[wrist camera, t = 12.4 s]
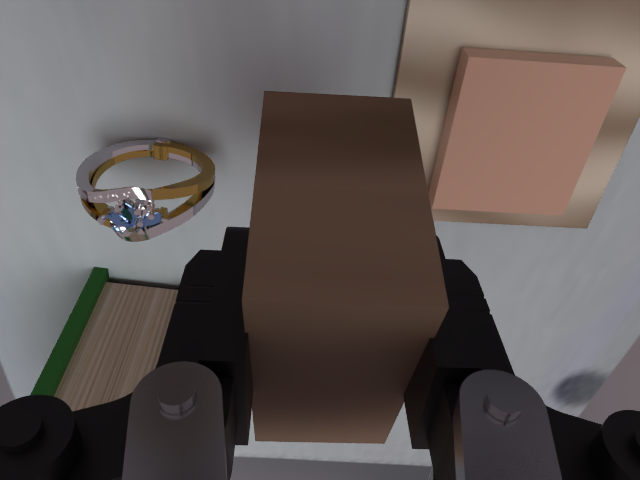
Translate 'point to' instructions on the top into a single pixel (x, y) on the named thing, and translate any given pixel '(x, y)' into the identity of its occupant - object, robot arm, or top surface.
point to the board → (531, 36)
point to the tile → (520, 129)
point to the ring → (141, 214)
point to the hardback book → (107, 342)
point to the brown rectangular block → (338, 267)
